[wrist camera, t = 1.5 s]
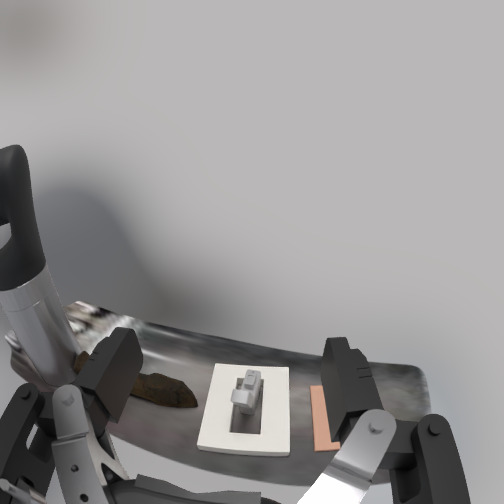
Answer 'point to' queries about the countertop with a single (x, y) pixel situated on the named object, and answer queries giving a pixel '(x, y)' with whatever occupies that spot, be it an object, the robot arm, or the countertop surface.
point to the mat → (321, 422)
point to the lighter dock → (221, 412)
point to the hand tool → (154, 387)
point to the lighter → (248, 392)
